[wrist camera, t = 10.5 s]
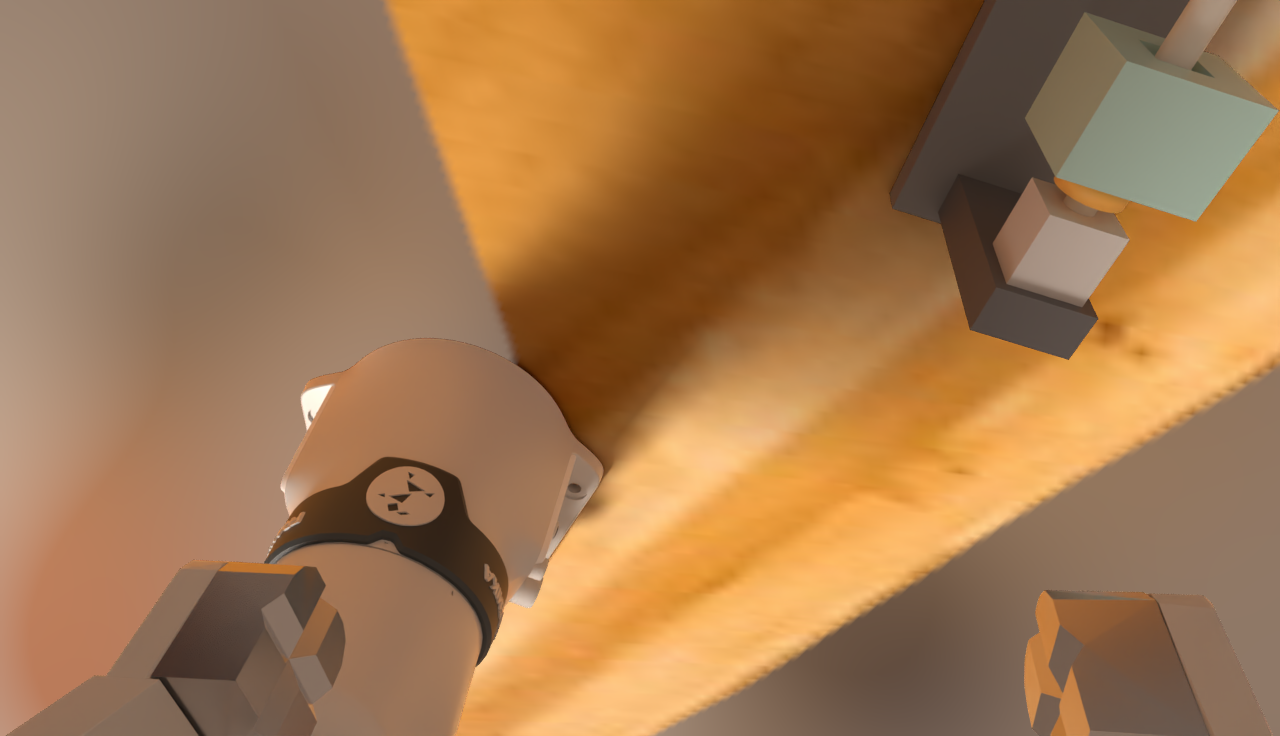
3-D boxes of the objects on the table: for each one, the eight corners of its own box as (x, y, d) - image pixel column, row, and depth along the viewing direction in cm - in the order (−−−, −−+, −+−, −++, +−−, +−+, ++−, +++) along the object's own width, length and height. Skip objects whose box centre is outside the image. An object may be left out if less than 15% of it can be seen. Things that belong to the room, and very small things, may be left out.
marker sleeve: (1149, 158, 34) (1196, 221, 30) (1024, 118, 34) (1055, 177, 30) (1218, 55, 32) (1278, 110, 28) (1084, 11, 31) (1126, 61, 28)
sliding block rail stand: (1046, 242, 44) (1109, 384, 35) (889, 193, 43) (914, 325, 35) (1398, -308, 30) (1641, -299, 22) (1175, -388, 30) (1333, -411, 21)
